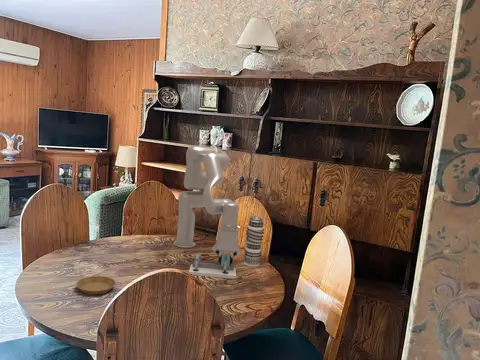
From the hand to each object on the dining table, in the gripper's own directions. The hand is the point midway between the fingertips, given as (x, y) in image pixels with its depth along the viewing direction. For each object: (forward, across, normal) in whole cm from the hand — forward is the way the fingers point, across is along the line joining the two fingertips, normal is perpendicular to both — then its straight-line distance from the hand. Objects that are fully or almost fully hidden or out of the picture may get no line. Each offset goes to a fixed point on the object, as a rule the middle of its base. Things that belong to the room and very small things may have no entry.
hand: (225, 263), depth 187 cm
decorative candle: (+4, -14, -16) cm, 22 cm away
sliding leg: (+2, 0, +2) cm, 3 cm away
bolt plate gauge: (+4, +6, +2) cm, 7 cm away
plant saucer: (+5, +52, +31) cm, 60 cm away
